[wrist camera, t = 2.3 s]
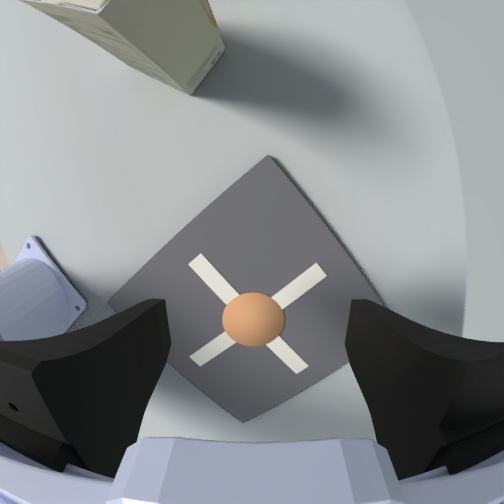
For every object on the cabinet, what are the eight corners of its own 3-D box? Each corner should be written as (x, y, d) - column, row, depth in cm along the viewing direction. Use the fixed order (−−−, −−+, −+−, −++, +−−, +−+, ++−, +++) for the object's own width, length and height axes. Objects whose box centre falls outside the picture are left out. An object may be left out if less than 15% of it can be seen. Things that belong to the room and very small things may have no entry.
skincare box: (228, 48, 16) (192, -72, 4) (191, 98, 17) (103, 17, 5) (156, 17, 15) (78, -77, 4) (121, 63, 16) (11, -2, 5)
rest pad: (243, 418, 24) (243, 423, 24) (110, 299, 21) (106, 303, 21) (393, 322, 21) (397, 326, 21) (267, 155, 18) (268, 154, 18)
